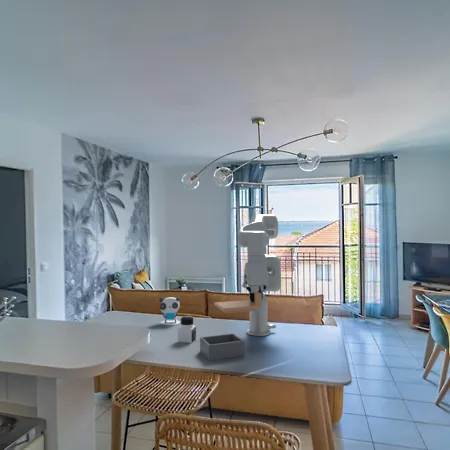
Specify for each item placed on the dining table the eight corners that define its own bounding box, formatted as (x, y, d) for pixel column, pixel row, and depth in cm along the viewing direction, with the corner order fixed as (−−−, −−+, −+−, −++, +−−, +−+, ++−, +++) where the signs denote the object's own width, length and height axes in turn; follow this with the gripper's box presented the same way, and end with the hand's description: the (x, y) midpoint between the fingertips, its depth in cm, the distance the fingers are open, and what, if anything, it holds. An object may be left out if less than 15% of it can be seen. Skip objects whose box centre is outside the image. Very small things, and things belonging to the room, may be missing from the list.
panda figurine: (158, 325, 201) (158, 299, 201) (161, 320, 212) (161, 295, 212) (179, 325, 201) (179, 299, 201) (181, 320, 212) (181, 295, 212)
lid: (253, 304, 160) (253, 290, 160) (265, 310, 148) (265, 294, 148) (214, 308, 154) (214, 292, 154) (223, 314, 142) (223, 297, 142)
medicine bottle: (191, 344, 167) (191, 319, 167) (177, 343, 168) (177, 318, 168) (196, 339, 174) (196, 315, 174) (182, 338, 175) (182, 314, 175)
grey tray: (233, 348, 160) (233, 333, 161) (244, 357, 149) (244, 340, 149) (200, 353, 155) (200, 337, 155) (208, 362, 143) (208, 345, 144)
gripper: (268, 258, 160) (268, 298, 160) (235, 259, 155) (235, 301, 155) (276, 259, 153) (276, 301, 153) (242, 260, 148) (242, 304, 147)
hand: (256, 300), depth 154 cm, fingers closed on lid, 3 cm apart
